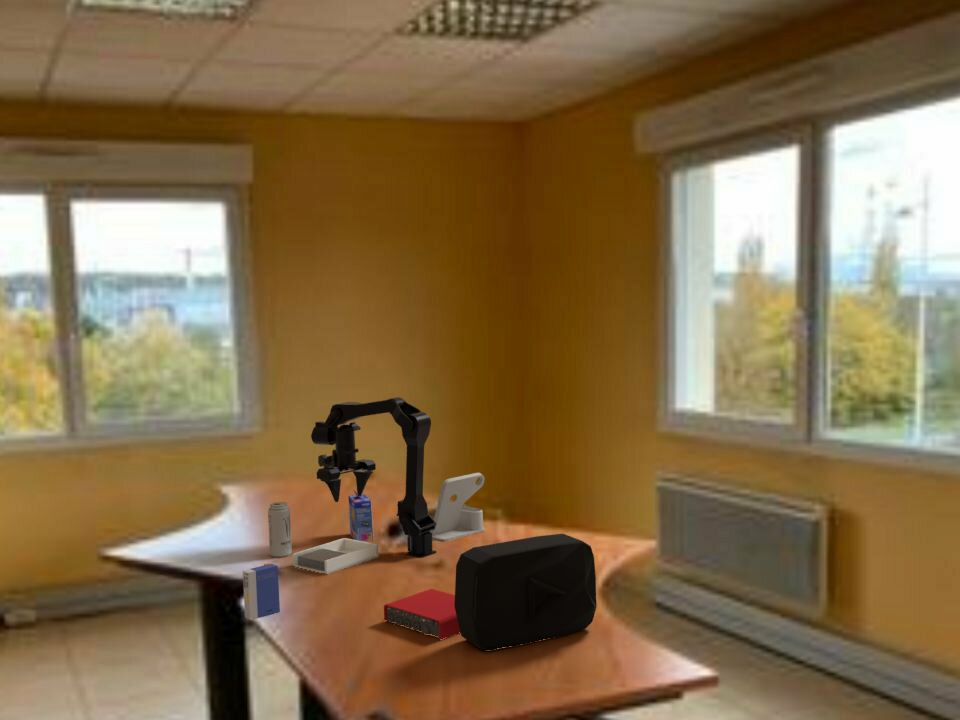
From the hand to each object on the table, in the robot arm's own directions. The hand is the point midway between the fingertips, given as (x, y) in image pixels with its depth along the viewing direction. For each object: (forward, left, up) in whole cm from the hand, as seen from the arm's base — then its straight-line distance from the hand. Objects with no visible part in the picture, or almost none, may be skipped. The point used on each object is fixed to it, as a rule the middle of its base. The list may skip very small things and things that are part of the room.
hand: (348, 498), depth 287 cm
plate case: (-11, +16, -14) cm, 24 cm away
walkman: (-28, +57, -14) cm, 65 cm away
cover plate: (-11, +21, -13) cm, 27 cm away
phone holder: (-18, -26, -14) cm, 35 cm away
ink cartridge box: (+3, -7, -14) cm, 16 cm away
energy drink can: (+8, +20, -14) cm, 25 cm away
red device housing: (-65, +38, -14) cm, 76 cm away
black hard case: (-87, +34, -14) cm, 95 cm away
